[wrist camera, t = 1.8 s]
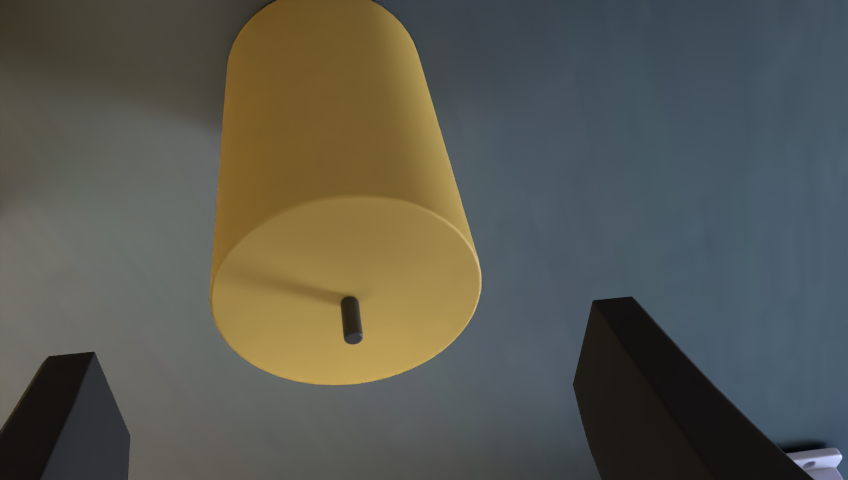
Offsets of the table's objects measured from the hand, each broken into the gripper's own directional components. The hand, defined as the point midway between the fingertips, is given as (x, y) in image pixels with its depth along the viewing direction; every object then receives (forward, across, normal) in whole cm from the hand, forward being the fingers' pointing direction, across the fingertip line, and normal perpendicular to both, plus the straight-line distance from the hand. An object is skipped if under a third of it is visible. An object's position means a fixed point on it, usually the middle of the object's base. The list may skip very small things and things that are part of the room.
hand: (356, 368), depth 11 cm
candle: (+8, 0, 0) cm, 8 cm away
